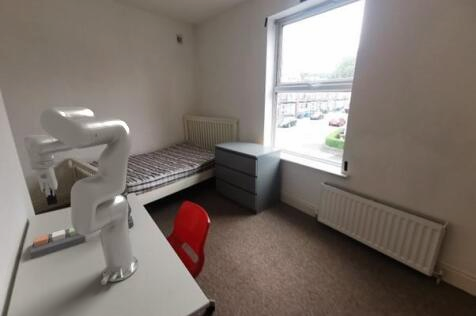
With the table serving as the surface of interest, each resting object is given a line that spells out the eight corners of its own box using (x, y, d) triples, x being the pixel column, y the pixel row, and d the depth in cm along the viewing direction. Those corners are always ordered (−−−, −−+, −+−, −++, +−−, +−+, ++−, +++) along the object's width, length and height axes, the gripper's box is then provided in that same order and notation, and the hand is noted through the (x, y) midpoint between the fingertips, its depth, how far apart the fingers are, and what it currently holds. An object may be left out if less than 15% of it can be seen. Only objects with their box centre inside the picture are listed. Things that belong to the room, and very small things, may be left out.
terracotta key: (49, 240, 100) (47, 234, 99) (48, 245, 97) (46, 238, 96) (36, 244, 98) (34, 237, 97) (35, 249, 94) (33, 242, 93)
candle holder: (136, 225, 115) (129, 182, 109) (125, 231, 110) (117, 186, 103) (129, 222, 118) (122, 179, 112) (118, 227, 113) (110, 183, 106)
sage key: (81, 231, 107) (80, 225, 106) (82, 235, 104) (80, 229, 103) (70, 234, 105) (69, 228, 104) (70, 238, 101) (69, 232, 100)
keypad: (84, 229, 111) (83, 224, 110) (85, 241, 102) (84, 236, 101) (35, 244, 100) (34, 238, 100) (31, 258, 91) (30, 253, 90)
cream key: (66, 235, 104) (64, 229, 103) (65, 240, 100) (64, 233, 99) (54, 239, 101) (52, 232, 100) (53, 243, 98) (51, 237, 97)
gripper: (53, 166, 86) (63, 207, 91) (55, 158, 98) (64, 195, 103) (27, 170, 82) (39, 213, 87) (33, 161, 93) (43, 199, 98)
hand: (53, 203), depth 95 cm, fingers closed
